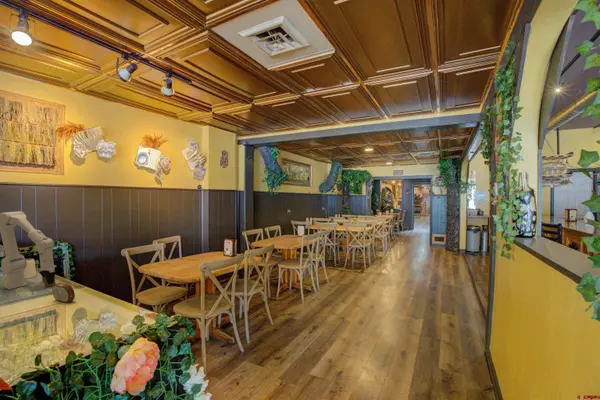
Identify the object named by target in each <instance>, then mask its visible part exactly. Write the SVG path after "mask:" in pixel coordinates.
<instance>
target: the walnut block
mask: <svg viewBox="0 0 600 400" xmlns="http://www.w3.org/2000/svg"><path fill="white" fill-rule="evenodd" d="M41 282H43V283H45V288H47V287H51V286H52V285H55V284H56V276H55V277H54V282H53V283H52V284H48V283H47V279H46V277H45V276H44V277H42V276H41ZM52 287H53V286H52Z"/></svg>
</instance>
